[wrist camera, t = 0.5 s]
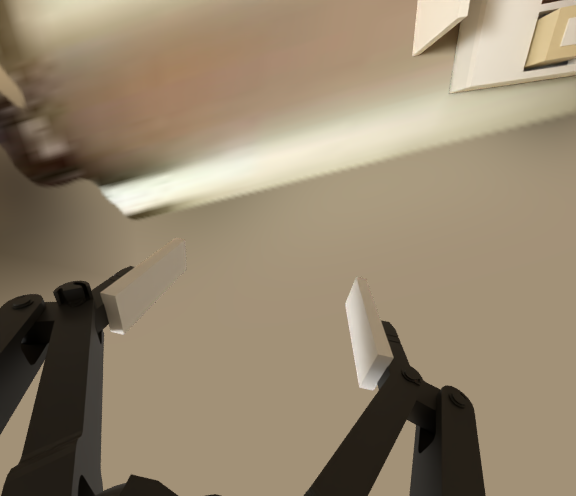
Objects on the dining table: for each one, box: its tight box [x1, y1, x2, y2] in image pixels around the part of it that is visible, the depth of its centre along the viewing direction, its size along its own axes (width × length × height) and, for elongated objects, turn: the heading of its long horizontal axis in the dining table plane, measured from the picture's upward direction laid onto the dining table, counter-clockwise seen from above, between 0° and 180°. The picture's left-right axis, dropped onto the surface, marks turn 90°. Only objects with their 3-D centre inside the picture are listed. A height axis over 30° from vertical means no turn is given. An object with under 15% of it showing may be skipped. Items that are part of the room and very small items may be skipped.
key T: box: [524, 5, 576, 69], centre depth 25 cm, size 4×4×4 cm
